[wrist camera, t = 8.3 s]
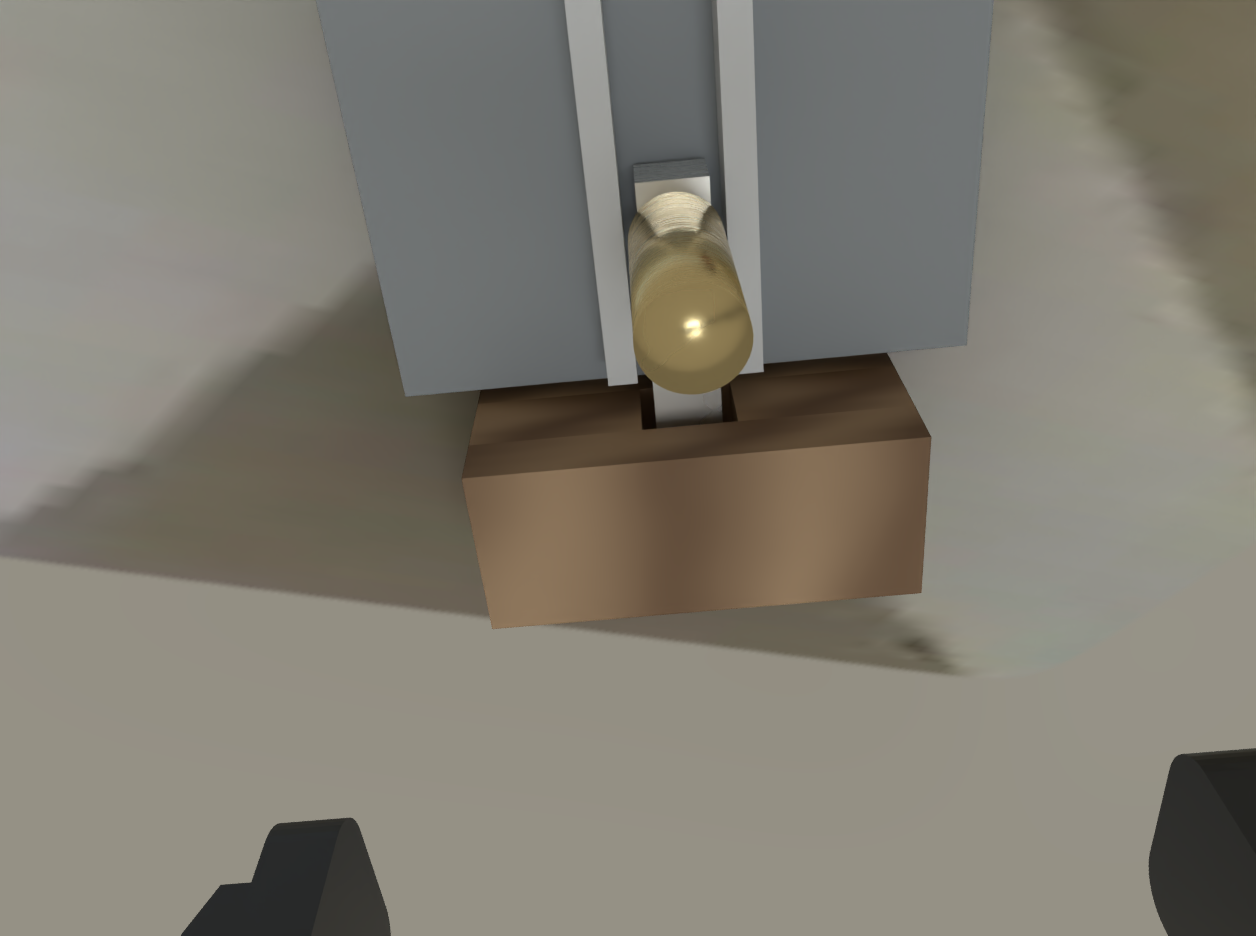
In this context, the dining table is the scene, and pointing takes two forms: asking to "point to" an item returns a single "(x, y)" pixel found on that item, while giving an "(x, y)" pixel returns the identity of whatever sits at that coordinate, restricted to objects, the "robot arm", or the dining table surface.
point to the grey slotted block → (650, 133)
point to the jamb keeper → (698, 495)
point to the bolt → (684, 294)
